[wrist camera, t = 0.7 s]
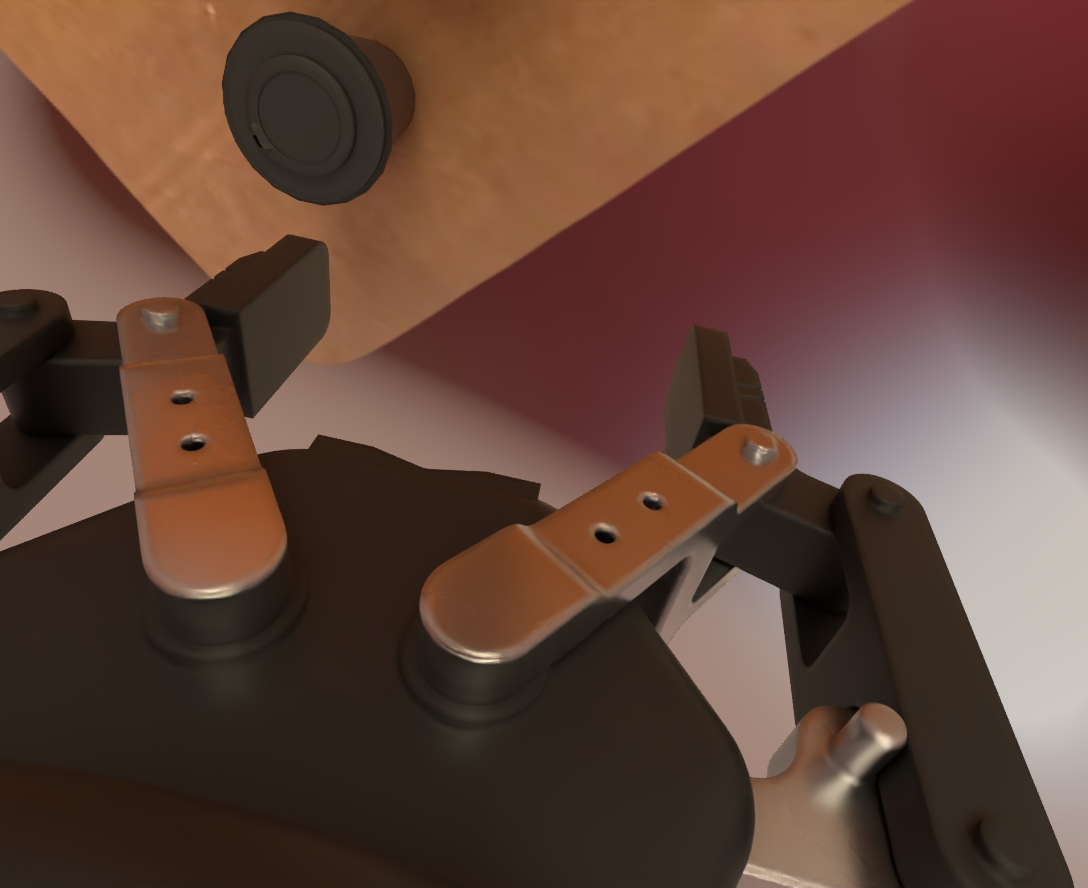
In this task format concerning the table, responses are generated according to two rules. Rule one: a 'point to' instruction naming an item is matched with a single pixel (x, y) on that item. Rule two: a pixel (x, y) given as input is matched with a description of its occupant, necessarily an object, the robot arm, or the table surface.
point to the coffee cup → (315, 106)
